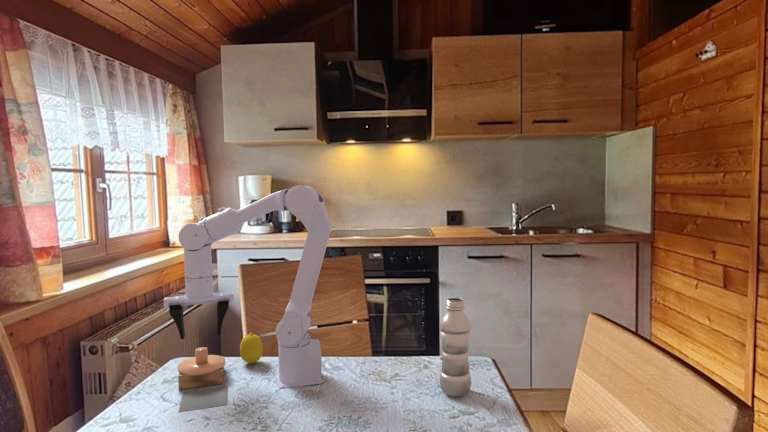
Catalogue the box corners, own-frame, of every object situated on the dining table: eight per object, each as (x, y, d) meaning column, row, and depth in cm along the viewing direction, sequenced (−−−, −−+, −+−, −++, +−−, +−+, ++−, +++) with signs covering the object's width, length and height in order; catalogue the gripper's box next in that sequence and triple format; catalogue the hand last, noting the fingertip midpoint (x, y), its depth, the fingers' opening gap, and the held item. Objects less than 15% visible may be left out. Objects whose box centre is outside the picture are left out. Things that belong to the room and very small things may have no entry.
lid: (225, 355, 110) (225, 339, 110) (224, 371, 101) (224, 353, 100) (180, 361, 107) (179, 344, 107) (175, 378, 98) (174, 359, 97)
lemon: (257, 369, 110) (256, 337, 110) (235, 368, 112) (234, 336, 111) (267, 361, 116) (266, 330, 115) (247, 359, 117) (246, 329, 116)
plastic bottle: (477, 392, 97) (477, 299, 96) (459, 404, 92) (459, 305, 91) (451, 384, 101) (451, 294, 100) (433, 394, 96) (432, 300, 95)
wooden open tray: (224, 370, 110) (223, 356, 110) (223, 385, 102) (222, 370, 101) (183, 375, 107) (182, 361, 107) (178, 391, 99) (178, 376, 99)
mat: (227, 388, 101) (227, 386, 101) (227, 406, 92) (227, 404, 92) (183, 394, 98) (183, 392, 98) (178, 414, 89) (178, 412, 89)
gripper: (232, 271, 109) (234, 327, 110) (165, 275, 105) (168, 334, 105) (232, 276, 102) (234, 336, 103) (161, 281, 98) (163, 343, 99)
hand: (201, 335), depth 104 cm, fingers open, 7 cm apart
